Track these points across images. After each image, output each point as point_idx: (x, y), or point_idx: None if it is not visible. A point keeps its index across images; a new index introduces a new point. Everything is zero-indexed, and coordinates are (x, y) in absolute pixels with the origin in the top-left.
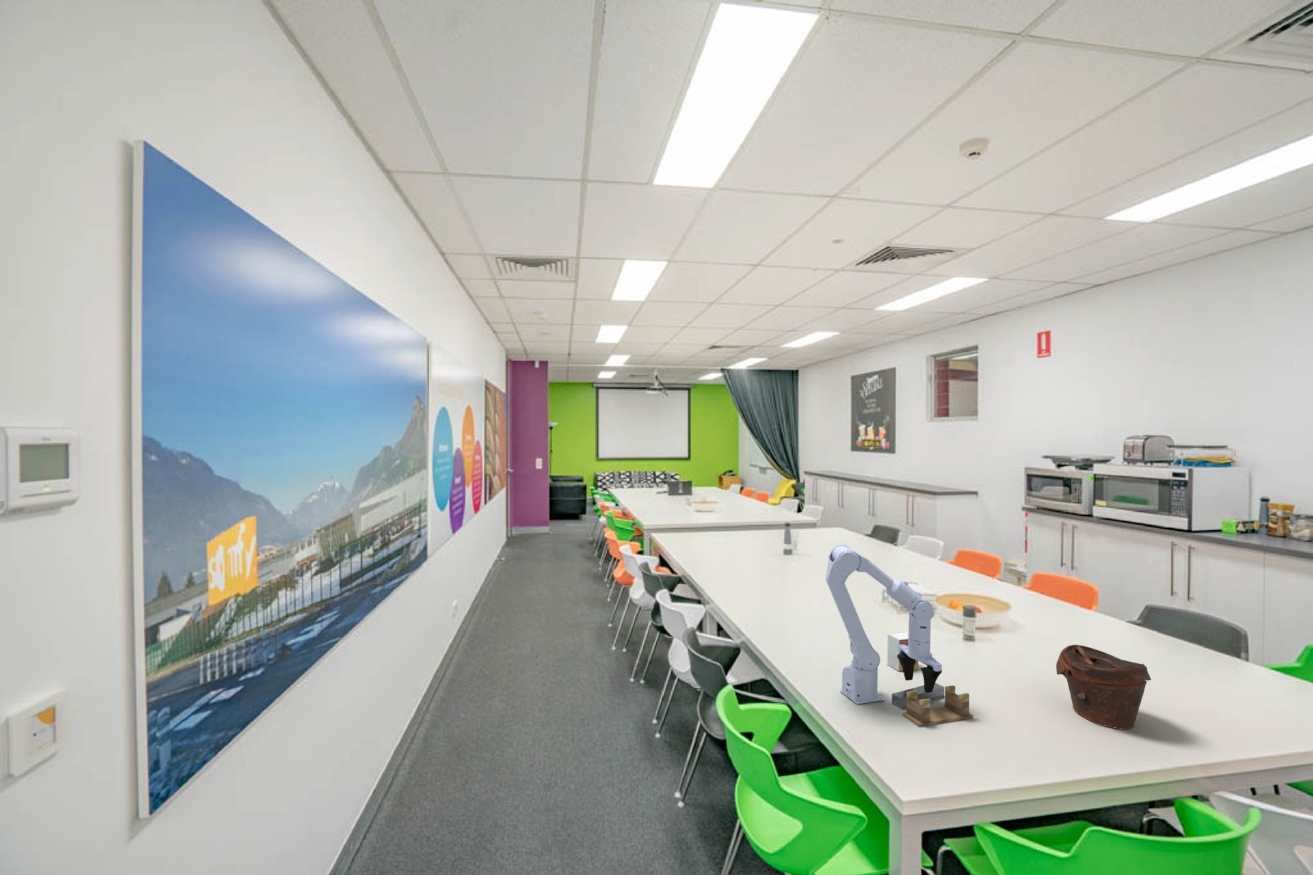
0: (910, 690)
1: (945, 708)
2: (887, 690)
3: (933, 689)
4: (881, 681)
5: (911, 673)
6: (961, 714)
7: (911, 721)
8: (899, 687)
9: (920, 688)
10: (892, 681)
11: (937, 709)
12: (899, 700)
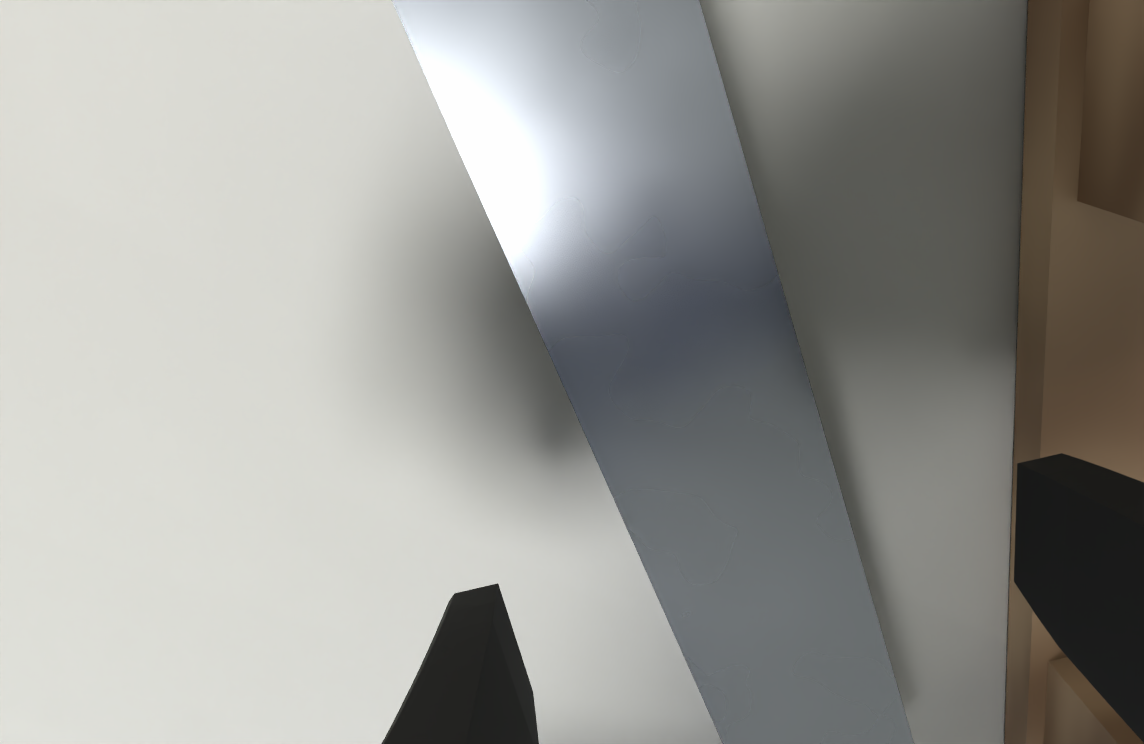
0: (724, 642)
1: (1120, 221)
2: (393, 697)
3: (736, 207)
4: (87, 674)
5: (500, 715)
6: None
7: None
8: (270, 514)
9: (672, 454)
10: (43, 528)
11: (1100, 367)
12: None
